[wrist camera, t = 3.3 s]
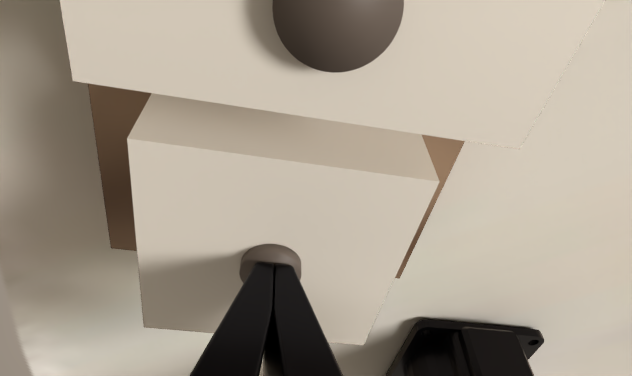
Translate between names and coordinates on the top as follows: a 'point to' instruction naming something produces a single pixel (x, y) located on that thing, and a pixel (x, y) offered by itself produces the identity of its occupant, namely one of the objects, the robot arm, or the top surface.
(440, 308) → the top surface
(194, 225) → the tile one
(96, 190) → the top surface
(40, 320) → the top surface
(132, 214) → the brown flat slab
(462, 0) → the tile two
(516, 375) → the robot arm
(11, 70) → the top surface
